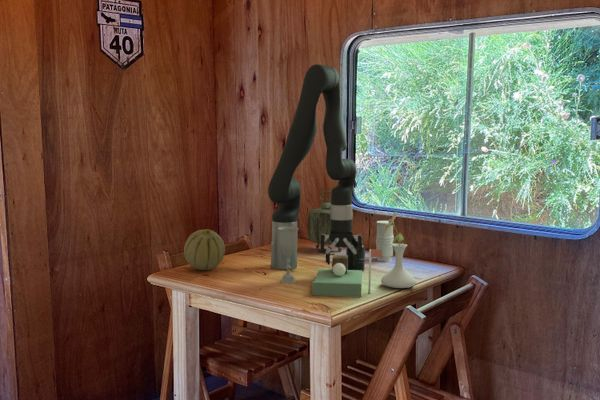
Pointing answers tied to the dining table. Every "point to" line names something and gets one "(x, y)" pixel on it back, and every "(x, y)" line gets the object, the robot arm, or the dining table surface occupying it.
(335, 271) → the ball
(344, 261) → the wooden channel cradle
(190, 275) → the dining table surface
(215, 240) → the cantaloupe
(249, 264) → the dining table surface
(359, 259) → the supplement bottle
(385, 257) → the candle
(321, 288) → the green
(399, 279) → the flower in vase
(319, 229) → the tabletop clock
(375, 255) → the flag pin
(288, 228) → the chalice
